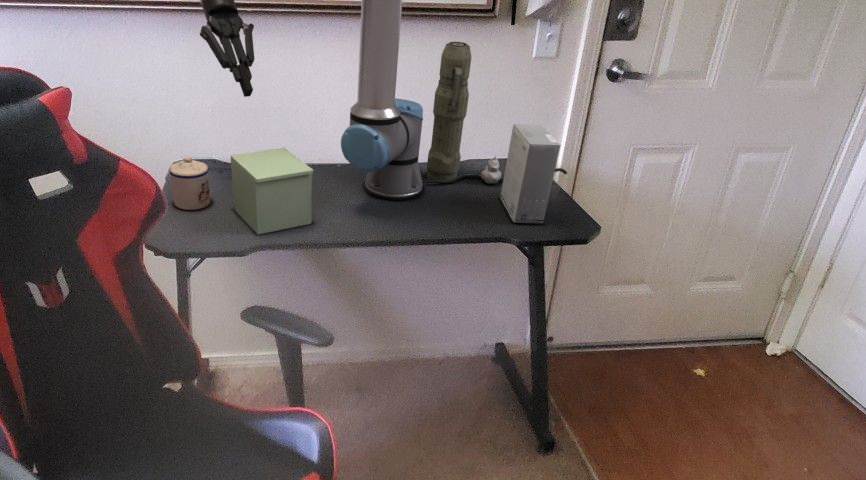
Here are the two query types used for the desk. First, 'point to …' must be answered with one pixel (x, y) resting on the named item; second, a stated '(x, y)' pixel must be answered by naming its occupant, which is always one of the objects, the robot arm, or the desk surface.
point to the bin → (272, 201)
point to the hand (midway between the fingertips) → (248, 93)
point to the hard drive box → (529, 172)
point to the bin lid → (271, 164)
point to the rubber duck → (491, 171)
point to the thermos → (449, 112)
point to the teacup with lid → (190, 184)
